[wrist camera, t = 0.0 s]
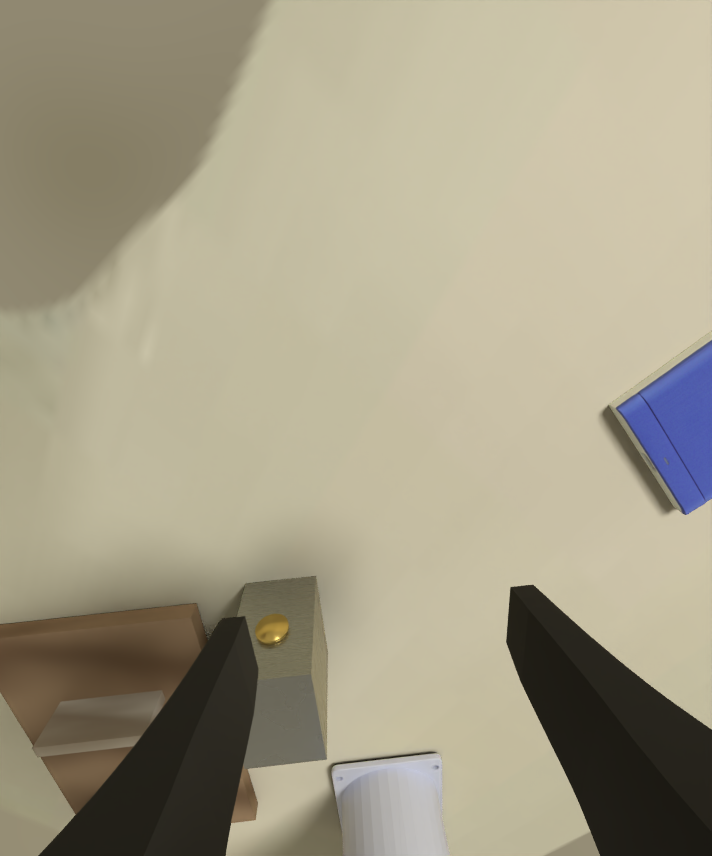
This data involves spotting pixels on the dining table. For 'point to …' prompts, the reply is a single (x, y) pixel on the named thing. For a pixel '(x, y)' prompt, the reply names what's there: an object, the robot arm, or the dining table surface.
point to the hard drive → (675, 424)
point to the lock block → (287, 672)
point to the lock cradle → (99, 689)
